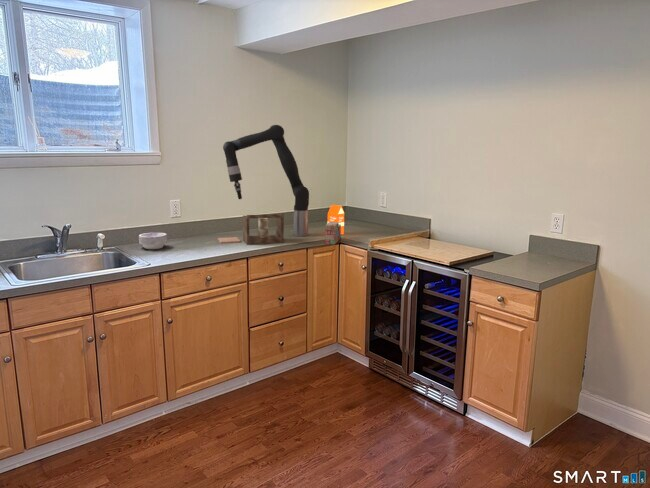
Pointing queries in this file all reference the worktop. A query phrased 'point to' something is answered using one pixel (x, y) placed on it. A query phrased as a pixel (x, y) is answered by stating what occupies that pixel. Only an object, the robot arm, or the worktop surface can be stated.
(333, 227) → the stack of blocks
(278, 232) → the walnut bay
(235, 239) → the terracotta tile
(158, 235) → the paper bowls
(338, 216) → the orange juice
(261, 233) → the maple block
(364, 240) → the worktop surface
